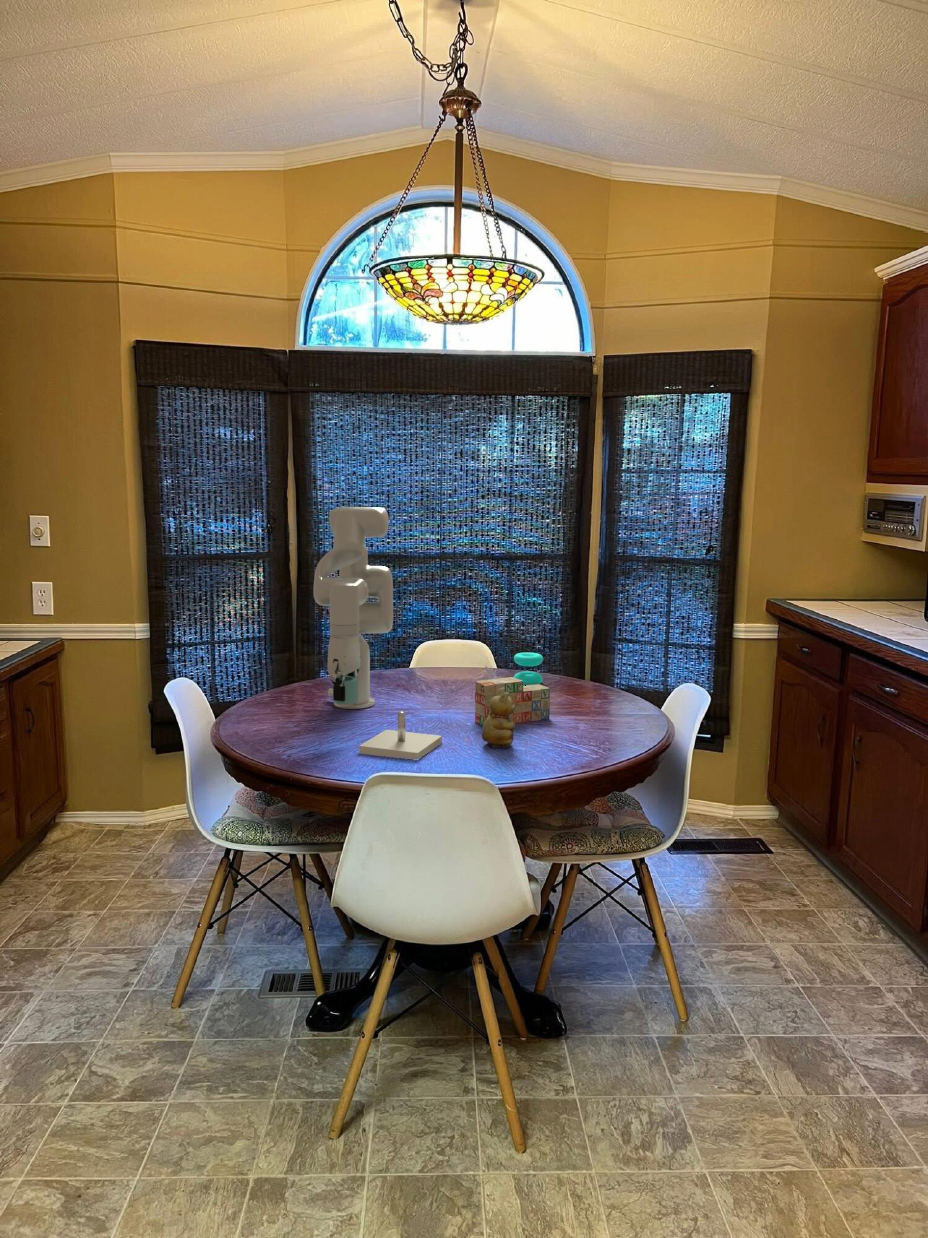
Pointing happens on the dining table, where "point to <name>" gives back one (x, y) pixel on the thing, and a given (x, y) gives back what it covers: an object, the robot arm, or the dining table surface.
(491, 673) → the water lily
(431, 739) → the board
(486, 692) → the stack of blocks
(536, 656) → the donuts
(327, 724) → the dining table surface
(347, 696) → the bead
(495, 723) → the decorative figurine
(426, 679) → the dining table surface
